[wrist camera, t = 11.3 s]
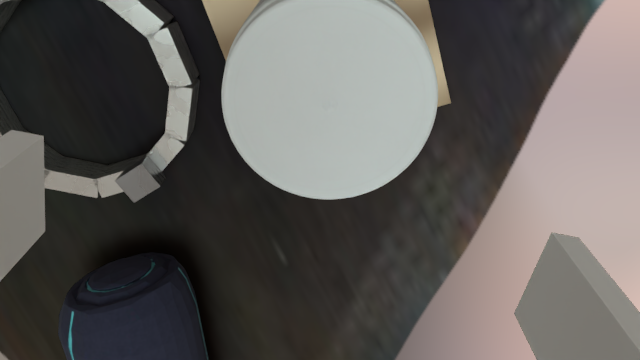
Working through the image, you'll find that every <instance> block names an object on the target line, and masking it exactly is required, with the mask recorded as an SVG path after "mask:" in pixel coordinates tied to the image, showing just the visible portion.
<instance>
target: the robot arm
mask: <svg viewBox="0 0 640 360" xmlns="http://www.w3.org/2000/svg"><path fill="white" fill-rule="evenodd" d="M44 232H45V186H44V136H41V135H36V134H31V133H26V132H20V131H15V130H10V131H9V132H7V133H6V134H4V135H3V136H1V137H0V281H1V280H2V279H3V278H4V276H5V275H6V274H7V273H8V272H9V271H10V270H11V269H12V268H13V266H14V265H15V264H16V263H17V262H18V261H19V260H20V259H21V258H22V256H23V255H24V254H25V253H26V252H27V251H28V250H29V249H30V248H31V246H32V245H33V244H34V243H35V242H36V241H37V240H38V239H39V238H40V236H41V235H42V234H43V233H44ZM514 314H515V316H516V318H517V320H518V322H519V324H520V326H521V328H522V330H523V332H524V335H525V336H526V339H527V341H528V343H529V344H530V347H531V349H532V351H533V353H534V355H535V357H536V359H537V360H640V312H639V311H638V310H637V308H636V307H635V306H634V305H633V304H632V302H631V301H630V300H629V299H628V297H627V296H626V295H625V294H624V292H623V291H622V290H621V289H620V288H619V286H618V285H617V284H616V283H615V281H614V280H613V279H612V278H611V277H610V275H609V274H608V273H607V272H606V270H605V269H604V268H603V267H602V265H601V264H600V263H599V262H598V261H597V259H596V258H595V257H594V256H593V254H592V253H591V252H590V251H589V250H588V248H587V247H586V246H585V245H584V243H583V242H582V241H581V240H580V239H579V238H578V237H573V236H568V235H563V234H557V233H551V235H550V237H549V239H548V241H547V244H546V246H545V248H544V250H543V252H542V254H541V257H540V259H539V261H538V263H537V265H536V267H535V269H534V272H533V274H532V276H531V278H530V280H529V282H528V285H527V287H526V289H525V291H524V293H523V295H522V298H521V300H520V302H519V304H518V306H517V308H516V310H515V313H514Z"/></svg>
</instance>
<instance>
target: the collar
mask: <svg viewBox="0 0 640 360" xmlns="http://www.w3.org/2000/svg"><path fill="white" fill-rule="evenodd" d="M20 1H22V0H0V32H1V31H2V29H3V28H4V26H5V25H6V23H7V21H8V20H9V18H10V17H11V15H12V14H13V12H14V10H15V9H16V7H17V6H18V4H19V3H20ZM100 1H103V2H104V3H105V4H106V5H108V6H109V7H110V8H111V9H113V10H114V11H115V12H116V13H117V14H119V15H120V16H121V17H122V18H123V19H125V20H126V21H127V22H128V23H129V24H131V25H132V26H133V27H134V28H136V29H137V30H138V31H139V32H140V33H142V34H143V35H144V36H145V37H146V38H147V39H148V41H149V43H150V45H151V47H152V50H153V52H154V54H155V56H156V59H157V61H158V63H159V65H160V67H161V70H162V72H163V74H164V76H165V79H166V81H167V83H168V85H169V97H168V107H167V117H166V127H165V133H164V135H163V136H162V137H161V138H160V139H159V141H158V142H157V143H156V144H155V145H154V147H153V148H152V149H151V150H150V151H149V152H148V153H146V154H143V155H140V156H137V157H133V158H130V159H127V160H123V161H120V162H117V163H114V164H110V165H104V164H99V163H94V162H89V161H84V160H79V159H74V158H69V157H64V156H62V155H61V154H59V153H58V152H56V151H55V150H54V149H52V148H51V147H49V146H48V145H47V144H45V143H44V186H45V188H48V189H53V190H58V191H63V192H69V193H74V194H79V195H84V196H89V197H95V198H98V197H99V196H100V195H101V197H102V198H104V197H107V196H110V195H114V194H117V193H120V192H125V193H126V194H127V195H128V197H129V198H130V199H131V200H132V201H133V202H134V203H135V202H136V201H138V200H139V199H141V198H143V197H144V196H146V195H147V194H149V193H151V192H152V191H154V190H155V189H157V188H159V187H160V186H161V185H162V183H163V182H164V180H165V178H166V176H165V175H164V174H163V173H162V171H163V170H164V168H165V167H166V166H167V165H168V164H169V163H170V162H171V160H172V159H173V158H174V157H175V156H176V155H177V153H178V152H179V151H180V150H181V149H182V148H183V146H184V145H185V144H186V142H187V141H188V139H189V138H190V136H191V134H192V132H193V130H194V127H195V119H196V111H197V103H198V95H199V87H200V79H197V77H198V76H199V75H200V74H199V71H198V69H197V67H196V64H195V62H194V59H193V57H192V55H191V52H190V50H189V47H188V45H187V43H186V40H185V38H184V36H183V33H182V31H181V28H180V26H179V24H178V21H176V22H173V23H170V22H171V20H172V19H173V18H174V16H173V15H172V14H170V13H169V12H168V11H167V10H166V9H165V8H163V7H162V6H161V5H160V4H159V3H158V2H156V1H155V0H100ZM169 23H170V24H169ZM10 130H15V131H20V132H26V133H30V132H28V131H27V130H26V129H24V128H23V126H22V125H21V123H20V121H19V120H18V118H17V116H16V114H15V113H14V111H13V109H12V108H11V106H10V104H9V103H8V101H7V99H6V97H5V96H4V94H3V92H2V91H1V89H0V137H1V136H3V135H4V134H6V133H7V132H9V131H10Z"/></svg>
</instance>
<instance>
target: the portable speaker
mask: <svg viewBox="0 0 640 360" xmlns="http://www.w3.org/2000/svg"><path fill="white" fill-rule="evenodd" d="M58 335H59V338H60V341H61V344H62V347H63V349H64V352H65V355H66V358H67V360H209V357H208V352H207V348H206V343H205V338H204V333H203V328H202V324H201V319H200V314H199V309H198V304H197V300H196V295H195V291H194V289H193V287H192V284H191V282H190V280H189V277H188V275H187V273H186V271H185V269H184V267H183V266H182V265H181V264H180V263H179V262H178V261H177V260H176V259H175V258H174V257H173V256H172V255H168V254H165V253H155V252H149V253H141V254H138V255H134V256H131V257H127V258H122V259H118V260H116V261H113V262H110V263H107V264H105V265H104V266H102V267H100V268H98V269H96V270H94V271H92V272H90V273H88V274H87V275H86V276H84V277H83V278H82V279H80V280H79V281H78V282H77V283H75V284H74V285H73V286H72V288H71V289H70V290H69V292H68V293H67V295H66V298H65V301H64V303H63V306H62V309H61V311H60V314H59V331H58Z"/></svg>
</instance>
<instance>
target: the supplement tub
mask: <svg viewBox="0 0 640 360" xmlns="http://www.w3.org/2000/svg"><path fill="white" fill-rule="evenodd" d="M221 94H222V111H223V116H224V121H225V124H226V127H227V130H228V132H229V135H230V138H231V140H232V142H233V144H234V145H235V147H236V149H237V151H238V152H239V153H240V155H241V156H242V158H243V159H244V160H245V161H246V163H247V164H248V165H249V166H250V167H251V168H252V169H253V170H254V171H255V172H256V173H258V174H259V175H260V176H261V177H263V178H264V179H265V180H267V181H268V182H270V183H271V184H273V185H275V186H277V187H279V188H281V189H283V190H285V191H287V192H290V193H293V194H296V195H299V196H303V197H308V198H314V199H343V198H349V197H354V196H358V195H362V194H365V193H368V192H370V191H373V190H375V189H377V188H379V187H381V186H383V185H385V184H386V183H388V182H389V181H391V180H392V179H394V178H395V177H397V176H398V175H399V174H400V173H401V172H403V171H404V170H405V169H406V168H407V167H408V166H409V165H410V164H411V163H412V162H413V160H414V159H415V158H416V157H417V155H418V154H419V152H420V151H421V149H422V148H423V146H424V145H425V143H426V141H427V139H428V137H429V135H430V132H431V129H432V127H433V124H434V120H435V116H436V111H437V104H438V83H437V77H436V71H435V67H434V64H433V61H432V57H431V54H430V51H429V48H428V46H427V44H426V42H425V40H424V38H423V36H422V34H421V32H420V31H419V29H418V28H417V26H416V25H415V24H414V22H413V21H412V20H411V19H410V18H409V16H408V15H407V14H406V13H405V12H404V11H403V10H402V9H401V8H400V6H399V5H398V4H397V3H396V2H395V1H394V0H260V1H259V2H258V4H257V5H256V7H255V8H254V9H253V11H252V12H251V14H250V15H249V17H248V18H247V19H246V21H245V22H244V24H243V25H242V27H241V28H240V30H239V32H238V33H237V35H236V37H235V39H234V41H233V43H232V45H231V48H230V50H229V53H228V57H227V60H226V65H225V70H224V75H223V81H222V91H221Z"/></svg>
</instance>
